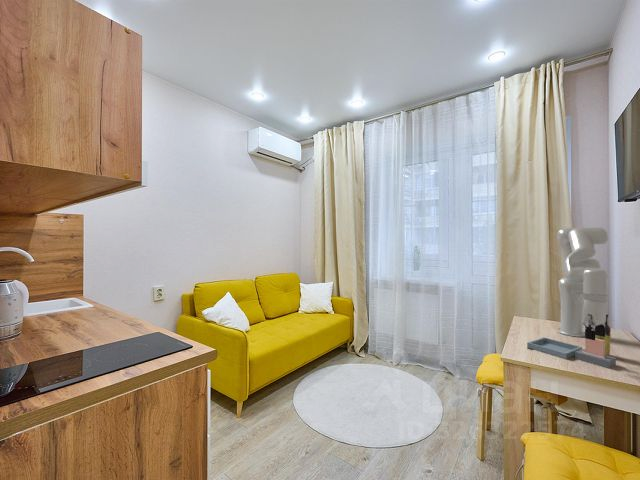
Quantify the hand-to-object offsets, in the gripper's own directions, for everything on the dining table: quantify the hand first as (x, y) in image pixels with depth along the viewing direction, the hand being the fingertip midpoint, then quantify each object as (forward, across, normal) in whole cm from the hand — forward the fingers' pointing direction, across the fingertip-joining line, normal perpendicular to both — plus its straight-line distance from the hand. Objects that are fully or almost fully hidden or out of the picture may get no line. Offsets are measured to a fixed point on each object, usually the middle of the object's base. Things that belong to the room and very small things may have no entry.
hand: (595, 337), depth 126 cm
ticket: (+11, -1, 0) cm, 11 cm away
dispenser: (+11, -1, 0) cm, 11 cm away
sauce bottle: (+11, -13, -2) cm, 17 cm away
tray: (+11, -1, -15) cm, 19 cm away
